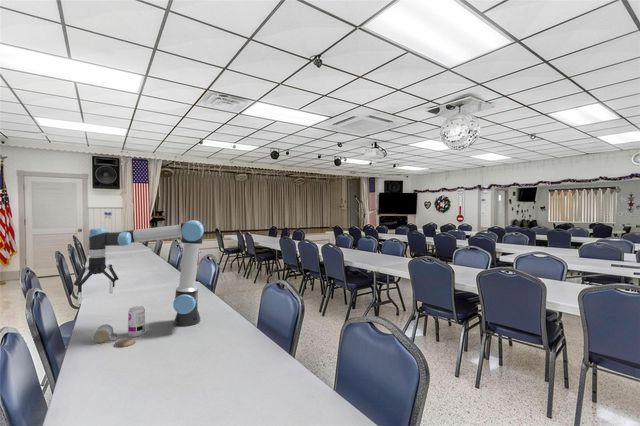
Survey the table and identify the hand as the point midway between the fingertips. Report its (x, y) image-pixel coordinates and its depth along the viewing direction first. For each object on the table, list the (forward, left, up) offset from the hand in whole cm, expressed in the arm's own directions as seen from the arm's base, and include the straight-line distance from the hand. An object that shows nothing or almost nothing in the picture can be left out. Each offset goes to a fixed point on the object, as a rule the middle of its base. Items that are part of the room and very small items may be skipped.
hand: (96, 295), depth 173 cm
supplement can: (-20, -1, -23) cm, 31 cm away
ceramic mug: (-7, +5, -23) cm, 25 cm away
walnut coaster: (-19, +12, -23) cm, 32 cm away
